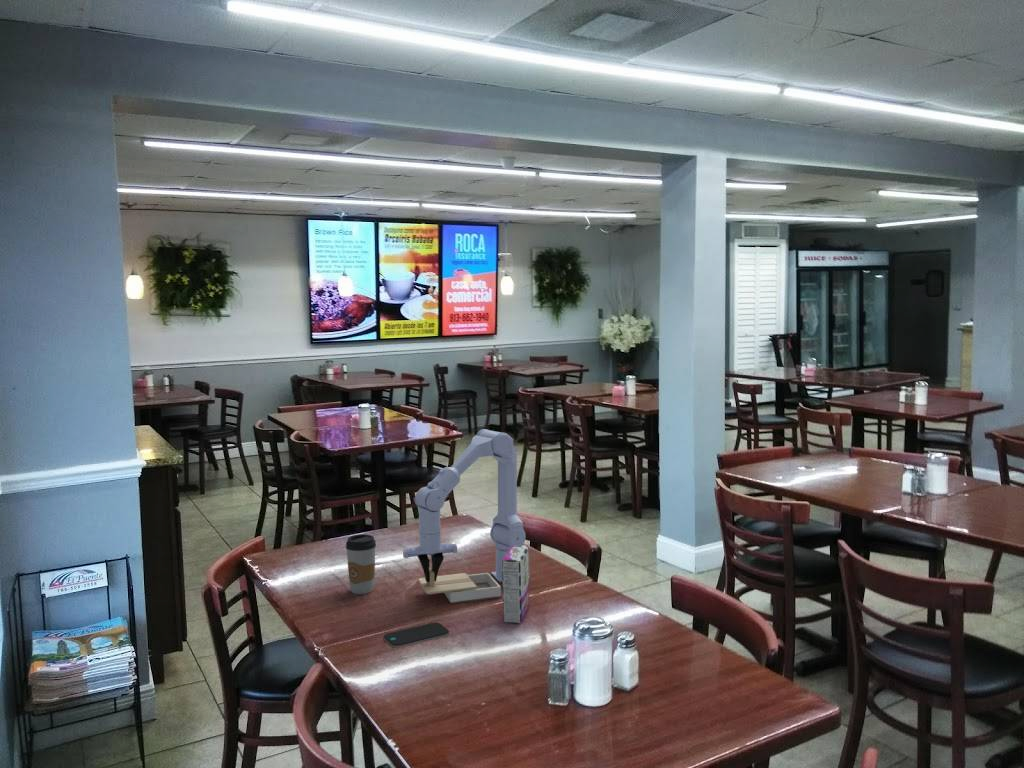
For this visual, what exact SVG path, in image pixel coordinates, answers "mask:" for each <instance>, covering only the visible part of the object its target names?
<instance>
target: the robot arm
mask: <svg viewBox="0 0 1024 768" xmlns="http://www.w3.org/2000/svg"><path fill="white" fill-rule="evenodd" d="M482 457H483V458H485V457H492V458H493V459H495V460H496V461H497V514H496V515H495V517H493V519H492V525H491V529H490V532H489V533H490V535H489V536H490V538H491V540H492V541H493V542H494V543H493V544H494V546H495V571H491V576H492V575H493V577H494V579H496V581H498V582H499V583H501V582H502V583H503V576H502V560H503V558H504V557H505V555H506V554H507V552H508V551H509V549H510V547H527V545H524V543H525V542H526V541H525V540H526V531H525V529H524V522H523V521H522V520H521V518H520V517H519V516H518V511H517V510H518V509H517V507H518V505H517V503H518V498H517V497H518V496H517V493H518V492H517V491H518V489H517V488H518V487H517V485H518V484H517V483H518V478H517V477H518V475H517V474H518V472H517V471H518V469H517V468H518V465H517V463H518V460H517V459H518V456H517V452H516V449H515V447H514V438H513V437H511V435H509V434H508V433H506V432H500V431H495V430H489V429H486V428H483V429H480V430H479V431H477V433H476V435H474V436H473V437H472V439H471V442H470V444H469V445H468V446H467V448H466V449H465V450H464V451H463V452H462V454H461V455H460V456H459V457H458V458H457V459H456V461H455V462H454V463H453V464H452V465H451V466H449V467H448V466H445V467H443V468H440V469H439V471H438V473H437V475H436V476H435V477H434V478H433V479H432V480H431V481H429V482H428V483H427V486H423V487H420V489H419V490H418V491H417V492H416V495H415V497H414V498H413V501H414V503H415V505H416V506H417V510H418V511H417V512H418V525H419V526H418V527H419V529H418V530H419V531H418V532H419V533H418V534H419V536H418V538H419V540H418V541H419V545H418V546H413V547H411V548H410V547H409V548H404V549H402V556H403V559H409V558H414V557H417V558H418V560H419V563H420V565H421V567H422V570H423V571H422V572H423V574H424V578H425V580H426V582H430V577H429V569H430V563H431V569H432V570H433V571H434V582H435V581H436V579H437V576H438V574H439V571H440V568H441V565H442V563H443V561H444V559H445V557H444V554H450V553H453V554H457V553H458V546H457V544H456V543H453V544H448V543H447V544H446V543H445V544H443V543H442V542H441V541H442V540H441V538H442V537H441V536H442V535H441V509H442V508H443V507H444V505H445V500H446V498H447V496H448V495H449V494H450V493H451V492H452V491H453V490H454V489H455V488H456V487H457V486H458V484H460V482H461V475H462V474H463V473H465V472H466V471H467V470H468V469H469V468H470V467H471V466H472V465H473V464H474V463H475V462H476V461H478V460H479V459H480V458H482ZM429 556H431V557H430V558H431V561H430V559H429ZM528 570H529V571H530V554H529V552H528ZM530 578H531V576H530V575H529V579H530Z"/></svg>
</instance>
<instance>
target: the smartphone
mask: <svg viewBox="0 0 1024 768" xmlns="http://www.w3.org/2000/svg"><path fill="white" fill-rule="evenodd" d="M449 634H450V631H449V629H448V628H447V627H446V626H444V625H443V624H441V623H440V622H430V623H426V624H421V625H418V626H413V627H410V628H409V627H408V628H405V629H401V630H396V631H392V632H389V633H386V634H384V635H383V639H384V641H386V643H388V645H390V646H391V647H394V648H401V647H405V646H409V645H413V644H418V643H421V642H425V641H429V640H433V639H437V638H442V637H446V636H448V635H449Z"/></svg>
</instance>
